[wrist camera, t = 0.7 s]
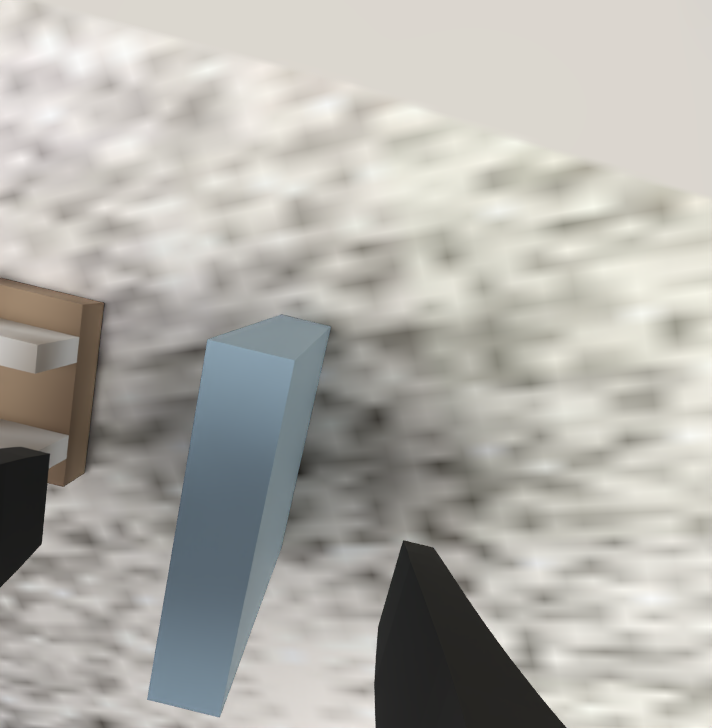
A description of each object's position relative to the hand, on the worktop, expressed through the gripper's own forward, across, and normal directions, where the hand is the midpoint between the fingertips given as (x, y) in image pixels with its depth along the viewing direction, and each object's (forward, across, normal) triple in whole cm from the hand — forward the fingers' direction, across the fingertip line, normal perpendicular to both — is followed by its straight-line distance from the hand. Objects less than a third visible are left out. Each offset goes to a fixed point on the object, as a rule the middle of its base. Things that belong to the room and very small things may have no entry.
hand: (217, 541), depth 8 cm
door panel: (+6, 0, 0) cm, 6 cm away
